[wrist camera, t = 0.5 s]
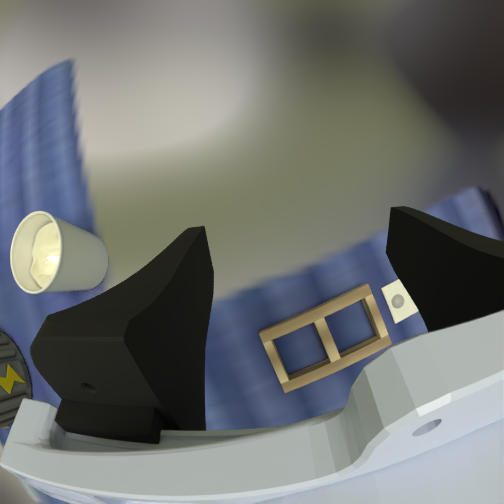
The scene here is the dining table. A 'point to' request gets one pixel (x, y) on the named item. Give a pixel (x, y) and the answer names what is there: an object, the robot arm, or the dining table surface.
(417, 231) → the robot arm
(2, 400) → the decorative lamp
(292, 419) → the dining table surface
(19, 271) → the candle holder
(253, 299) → the dining table surface
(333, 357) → the tan frame
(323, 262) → the dining table surface
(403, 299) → the key card
